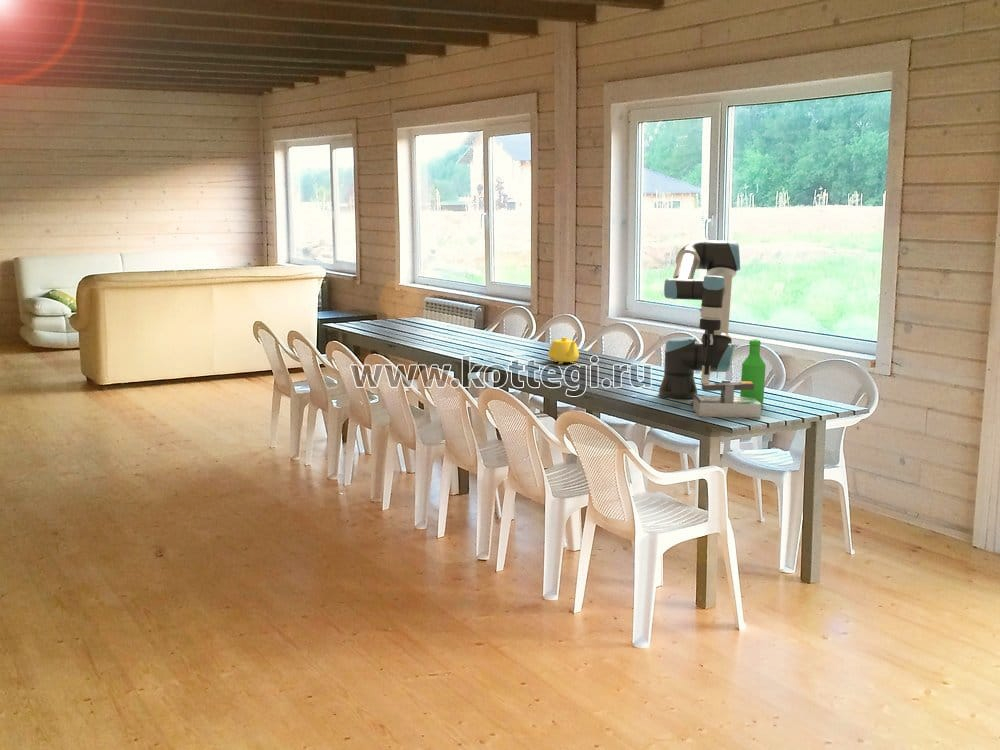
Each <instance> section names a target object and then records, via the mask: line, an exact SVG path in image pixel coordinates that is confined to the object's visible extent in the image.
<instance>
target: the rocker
mask: <svg viewBox="0 0 1000 750" xmlns="http://www.w3.org/2000/svg"><path fill="white" fill-rule="evenodd" d="M725 384H734V391H741V390H754V384H753V383H752V382H751V381H741V380H740V381H737V382H736V381H732V382H728V383H721V382H714V381H709V383H701V390H702V391H703V392H716V391H719V392H721V391H724V390H725Z"/></svg>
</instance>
